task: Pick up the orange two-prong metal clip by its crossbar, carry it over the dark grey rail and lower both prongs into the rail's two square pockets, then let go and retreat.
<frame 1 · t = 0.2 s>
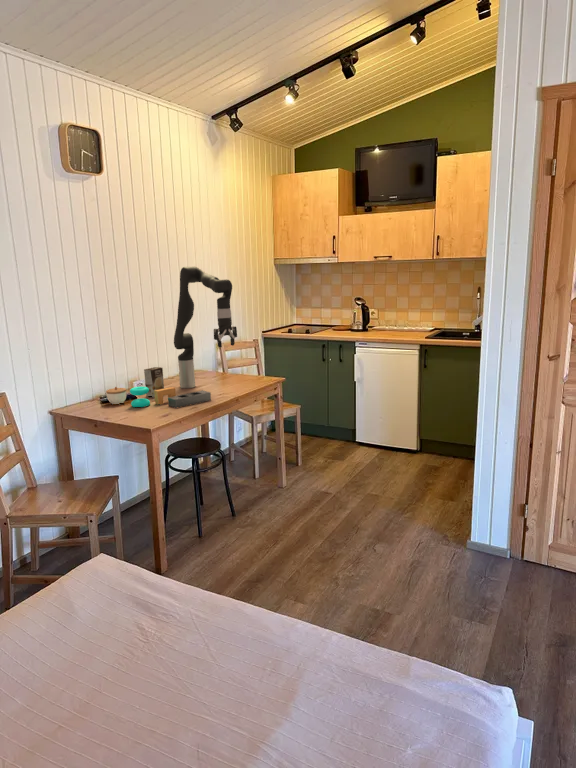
hand: (226, 346, 297), 29 cm above the table, tool pointing down, fingers open, 8 cm apart
coffee box: (155, 395, 316), on the table
lidded jar: (117, 403, 300), on the table
rail: (190, 402, 294), on the table
clip: (165, 402, 298), on the table
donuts: (140, 406, 292), on the table
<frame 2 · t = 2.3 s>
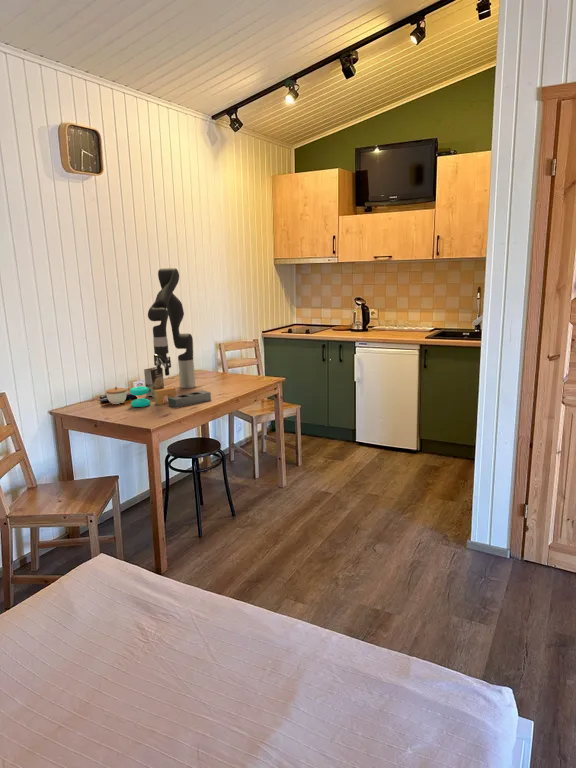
hand: (163, 374, 294), 16 cm above the table, tool pointing down, fingers open, 8 cm apart
nothing on the table moved.
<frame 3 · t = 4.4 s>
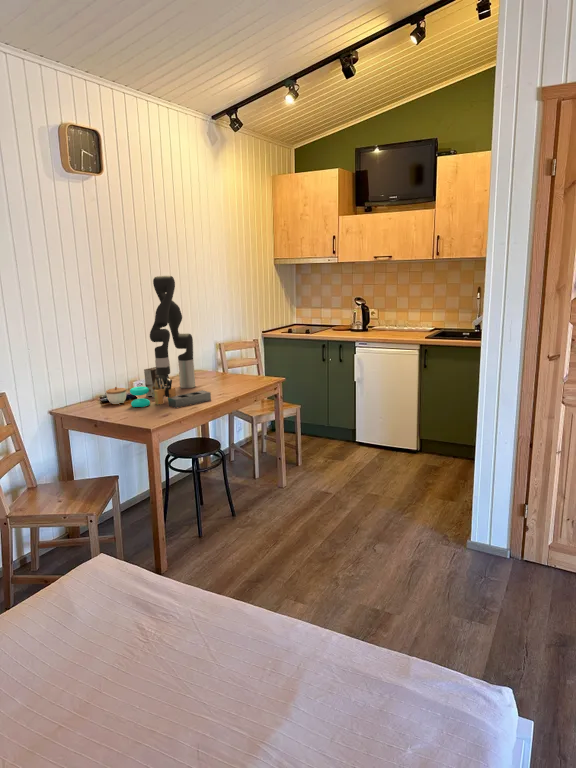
hand: (165, 396, 297), 4 cm above the table, tool pointing down, fingers closed on clip, 3 cm apart
clip: (165, 402, 298), on the table, touching gripper
everything else where it was.
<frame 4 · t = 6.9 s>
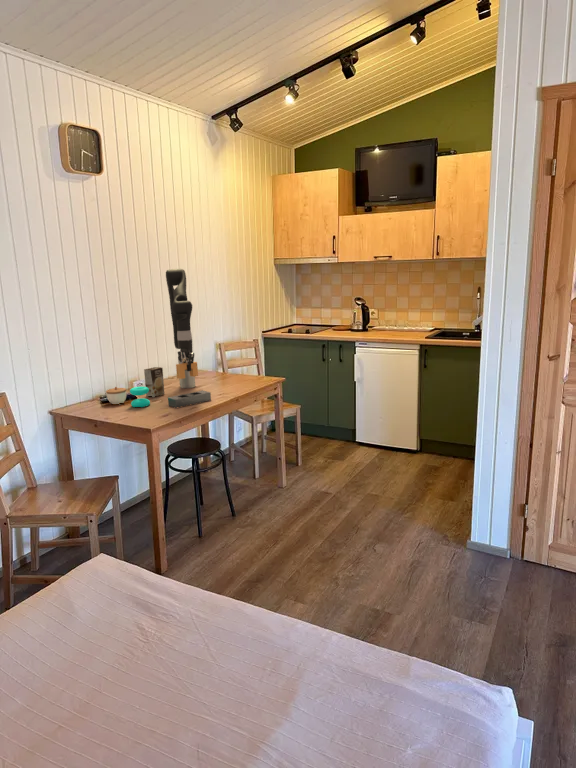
hand: (187, 370, 290), 18 cm above the table, tool pointing down, fingers closed on clip, 3 cm apart
clip: (187, 376, 291), point 14 cm above the table, touching gripper
everything else where it was.
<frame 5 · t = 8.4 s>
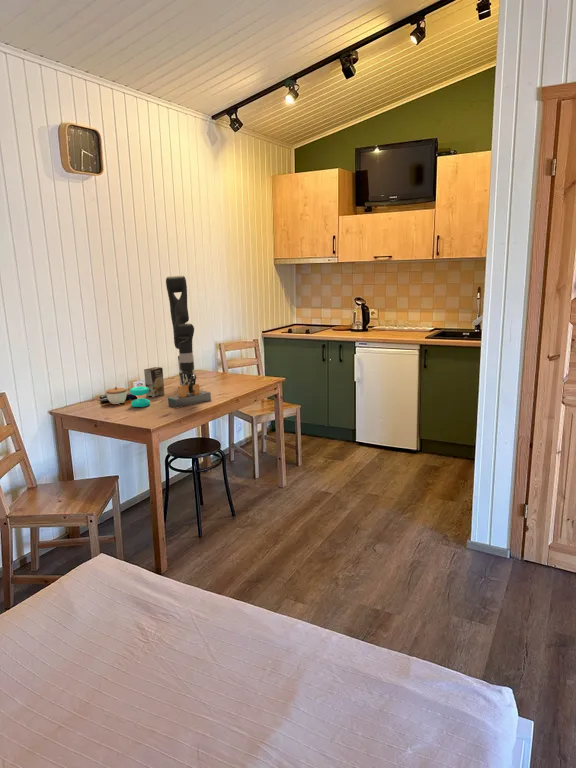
hand: (189, 392, 293), 6 cm above the table, tool pointing down, fingers closed on clip, 3 cm apart
clip: (189, 398, 293), point 3 cm above the table, touching gripper
everything else where it was.
when the fingers open (5 cm above the table, at t = 9.5 s): clip drops 1 cm, resting on rail.
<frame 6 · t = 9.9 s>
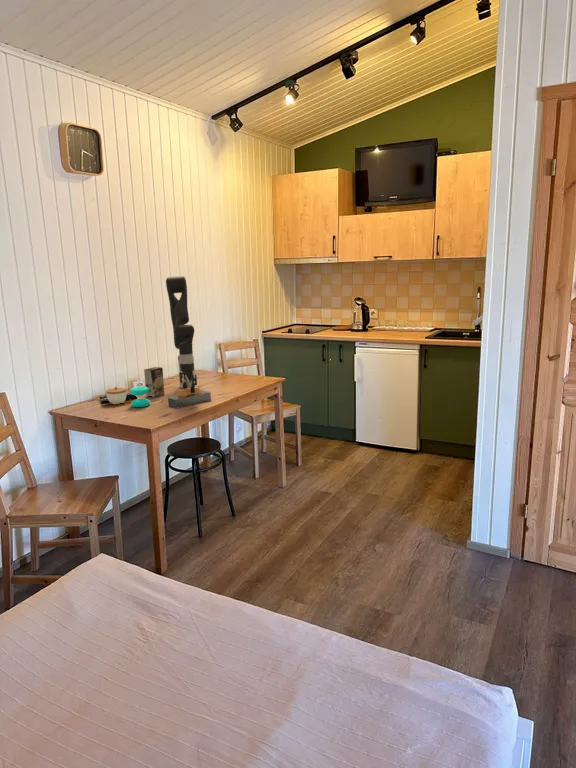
hand: (189, 391, 293), 6 cm above the table, tool pointing down, fingers open, 7 cm apart
clip: (189, 402, 294), resting on rail
everything else where it was.
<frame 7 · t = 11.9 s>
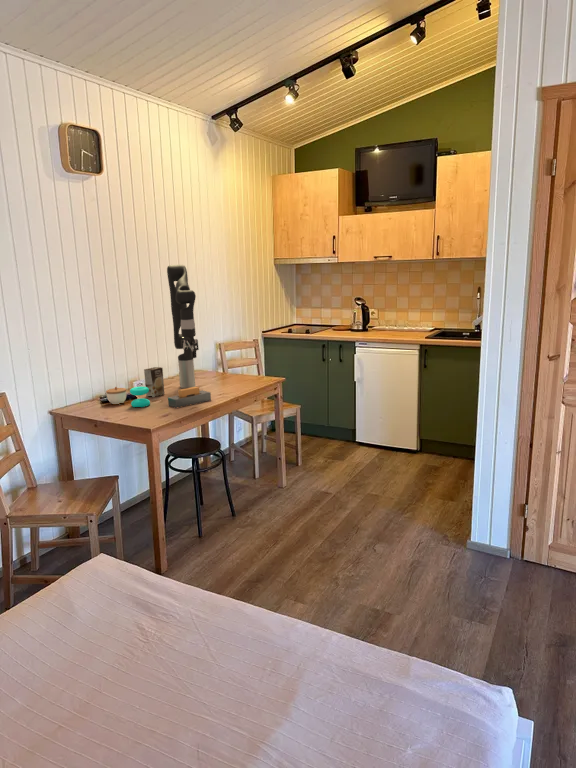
hand: (190, 356, 296), 24 cm above the table, tool pointing down, fingers open, 8 cm apart
nothing on the table moved.
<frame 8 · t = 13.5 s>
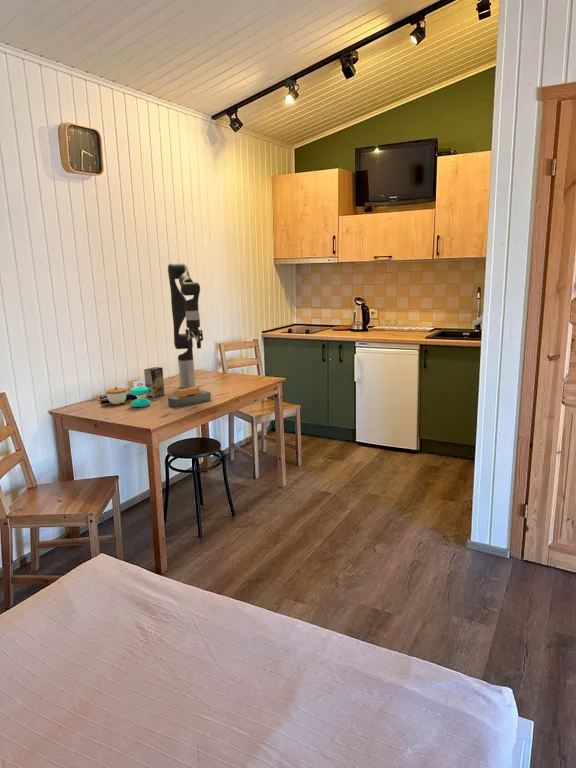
hand: (195, 347, 303), 28 cm above the table, tool pointing down, fingers open, 8 cm apart
nothing on the table moved.
at the end: clip 0.1 cm off-centre on the rail, point 0.5 cm above the rail's base; clip tilted 0°; the gripper is holding nothing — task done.
